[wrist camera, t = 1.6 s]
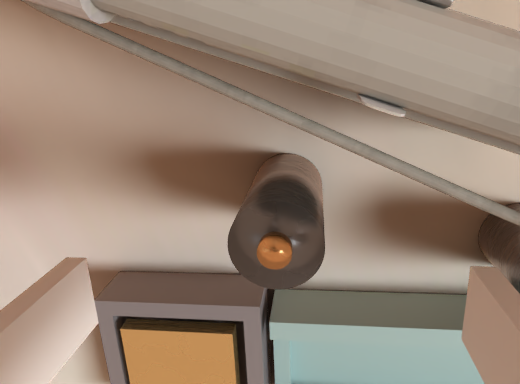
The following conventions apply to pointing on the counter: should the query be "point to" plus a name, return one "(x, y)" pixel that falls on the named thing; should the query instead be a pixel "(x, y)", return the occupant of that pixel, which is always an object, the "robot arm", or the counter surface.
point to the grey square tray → (187, 314)
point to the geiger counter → (341, 62)
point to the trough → (369, 338)
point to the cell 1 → (280, 225)
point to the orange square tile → (180, 352)
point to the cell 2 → (502, 245)
